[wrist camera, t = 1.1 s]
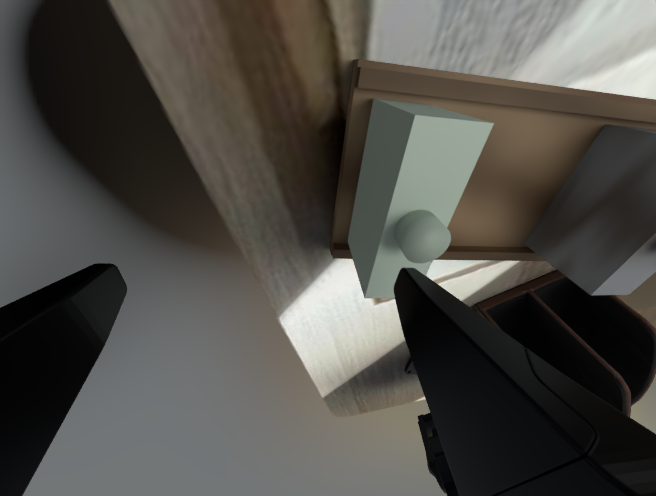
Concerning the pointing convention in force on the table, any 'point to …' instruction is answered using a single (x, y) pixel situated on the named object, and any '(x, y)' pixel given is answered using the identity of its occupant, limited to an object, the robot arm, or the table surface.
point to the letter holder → (580, 336)
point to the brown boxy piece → (530, 173)
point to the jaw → (409, 188)
